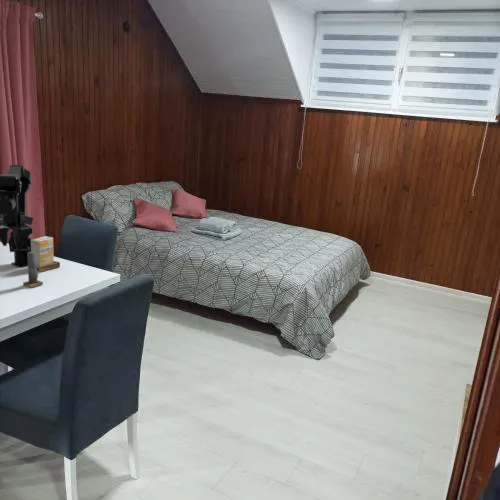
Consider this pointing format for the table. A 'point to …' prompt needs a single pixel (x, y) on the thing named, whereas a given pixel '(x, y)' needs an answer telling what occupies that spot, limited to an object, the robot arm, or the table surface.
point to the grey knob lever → (37, 270)
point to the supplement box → (43, 250)
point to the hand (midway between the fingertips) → (12, 248)
